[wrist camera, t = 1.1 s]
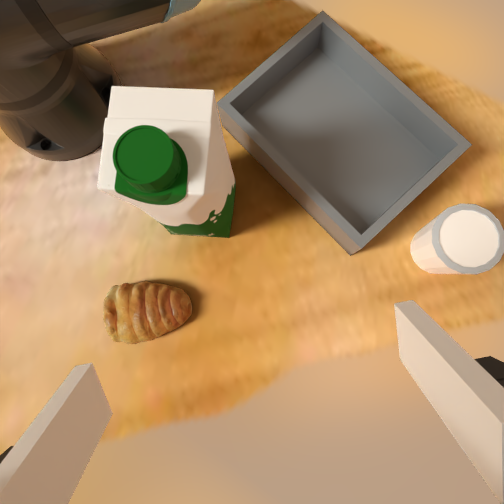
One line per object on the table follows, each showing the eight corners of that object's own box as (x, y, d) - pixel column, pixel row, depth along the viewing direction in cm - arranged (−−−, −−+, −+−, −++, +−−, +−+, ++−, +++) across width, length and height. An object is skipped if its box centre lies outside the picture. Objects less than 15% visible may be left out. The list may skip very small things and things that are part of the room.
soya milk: (162, 241, 42) (70, 186, 23) (170, 168, 44) (89, 55, 24) (236, 246, 42) (207, 193, 22) (242, 171, 43) (220, 60, 24)
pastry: (190, 275, 42) (182, 273, 38) (196, 334, 41) (189, 337, 37) (111, 287, 42) (95, 285, 38) (116, 345, 41) (100, 350, 38)
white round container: (471, 228, 41) (512, 212, 34) (460, 286, 40) (499, 282, 33) (411, 213, 42) (439, 195, 35) (398, 270, 41) (425, 263, 34)
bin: (222, 125, 44) (216, 103, 39) (316, 42, 45) (322, 10, 40) (350, 255, 41) (361, 248, 36) (448, 163, 42) (472, 144, 37)
